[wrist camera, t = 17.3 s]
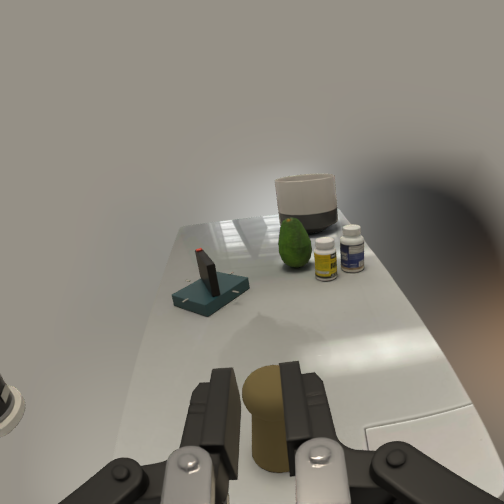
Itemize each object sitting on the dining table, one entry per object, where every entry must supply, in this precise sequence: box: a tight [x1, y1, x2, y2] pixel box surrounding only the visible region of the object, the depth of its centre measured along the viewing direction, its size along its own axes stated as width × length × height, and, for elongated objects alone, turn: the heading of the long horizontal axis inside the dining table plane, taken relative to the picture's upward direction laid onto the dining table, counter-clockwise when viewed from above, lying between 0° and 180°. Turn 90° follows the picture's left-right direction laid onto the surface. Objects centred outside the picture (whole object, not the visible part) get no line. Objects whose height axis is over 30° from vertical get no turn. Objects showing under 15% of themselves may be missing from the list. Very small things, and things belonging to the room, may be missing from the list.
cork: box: [242, 365, 289, 473], centre depth 25 cm, size 6×6×11 cm
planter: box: [275, 174, 338, 234], centre depth 98 cm, size 19×19×18 cm
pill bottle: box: [340, 225, 364, 272], centre depth 65 cm, size 5×5×10 cm
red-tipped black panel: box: [195, 248, 221, 297], centre depth 61 cm, size 11×2×7 cm, turn 21°
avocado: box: [278, 218, 312, 267], centre depth 71 cm, size 8×8×12 cm
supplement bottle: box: [314, 237, 337, 281], centre depth 64 cm, size 5×5×8 cm
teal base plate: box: [172, 272, 250, 317], centre depth 63 cm, size 15×15×3 cm
